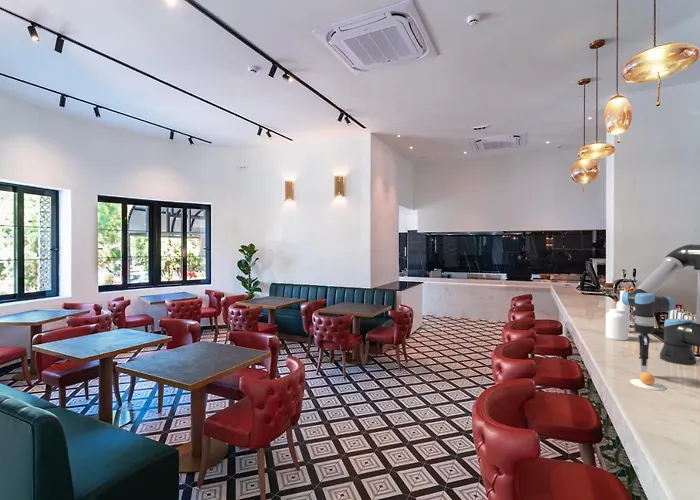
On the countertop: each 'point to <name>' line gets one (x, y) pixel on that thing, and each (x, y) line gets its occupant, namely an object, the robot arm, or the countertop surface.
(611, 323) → the white container
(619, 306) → the bottle
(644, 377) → the ball
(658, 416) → the countertop surface
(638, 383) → the white plate
